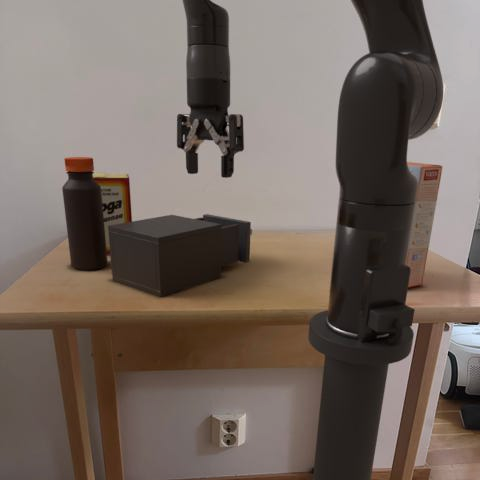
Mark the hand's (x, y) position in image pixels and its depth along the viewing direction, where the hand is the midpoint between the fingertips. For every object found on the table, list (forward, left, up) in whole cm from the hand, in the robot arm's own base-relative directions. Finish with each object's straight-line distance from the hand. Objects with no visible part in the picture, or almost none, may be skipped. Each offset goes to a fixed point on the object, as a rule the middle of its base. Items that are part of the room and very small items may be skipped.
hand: (209, 175), depth 89 cm
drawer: (0, -1, -16) cm, 16 cm away
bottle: (+8, +22, -18) cm, 29 cm away
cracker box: (-18, -28, -18) cm, 38 cm away
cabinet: (-5, +10, -17) cm, 21 cm away
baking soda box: (+19, +16, -18) cm, 30 cm away
